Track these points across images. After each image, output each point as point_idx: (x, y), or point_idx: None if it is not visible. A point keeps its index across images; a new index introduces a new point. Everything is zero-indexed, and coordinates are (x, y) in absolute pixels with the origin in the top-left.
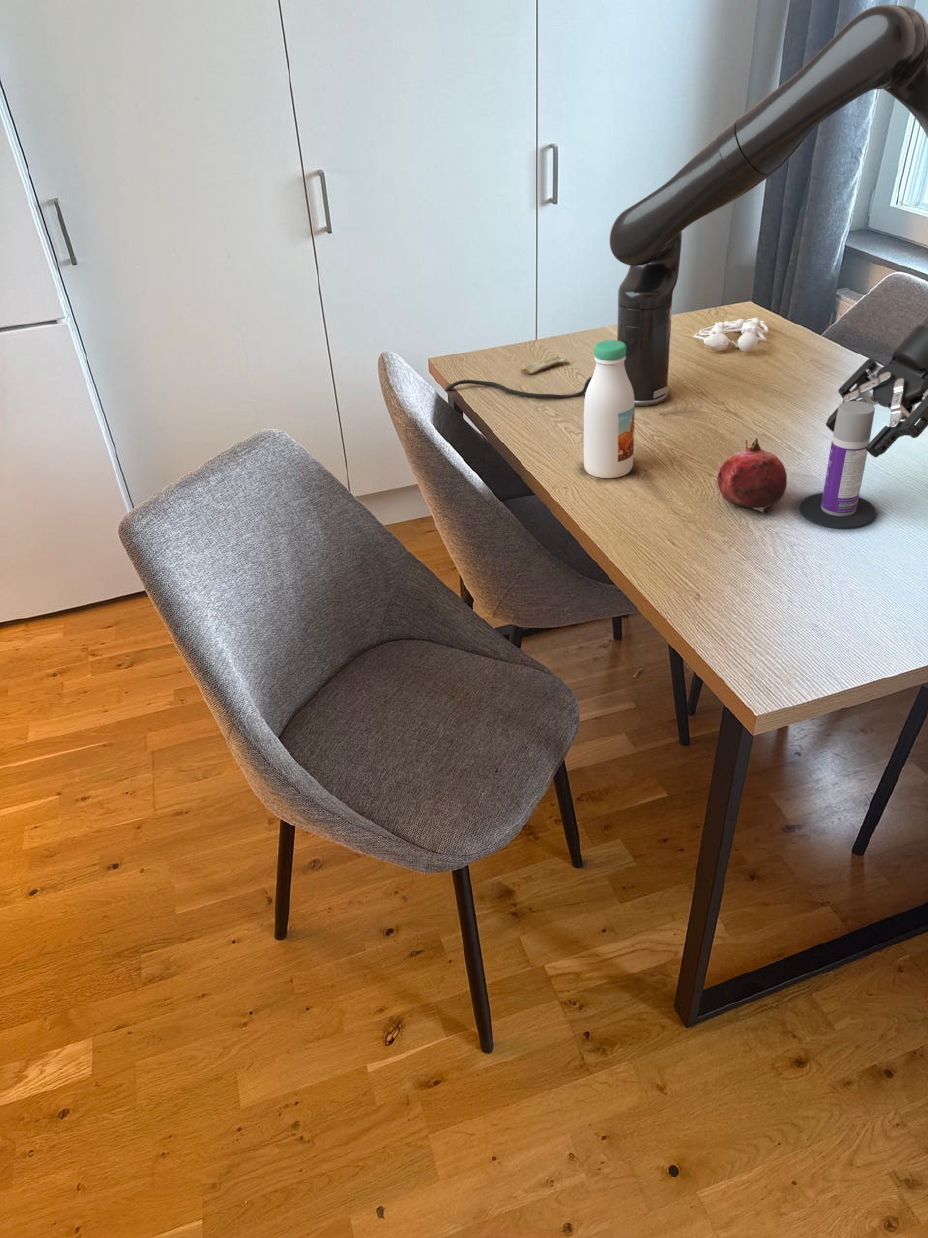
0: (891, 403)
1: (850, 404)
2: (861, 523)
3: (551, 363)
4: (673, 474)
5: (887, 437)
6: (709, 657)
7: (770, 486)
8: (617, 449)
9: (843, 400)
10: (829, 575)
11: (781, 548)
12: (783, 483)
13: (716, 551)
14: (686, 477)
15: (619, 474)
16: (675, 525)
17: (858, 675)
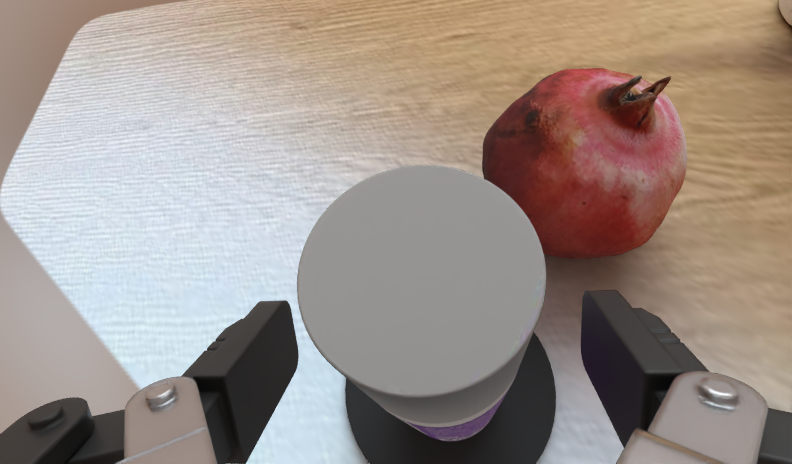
0: (213, 453)
1: (478, 255)
2: (349, 391)
3: None
4: (785, 116)
5: (199, 363)
6: (183, 5)
7: (484, 157)
8: None
9: (712, 374)
10: (230, 211)
11: (354, 181)
12: None
13: (400, 84)
14: (759, 136)
15: (784, 10)
16: (520, 55)
17: (39, 125)
